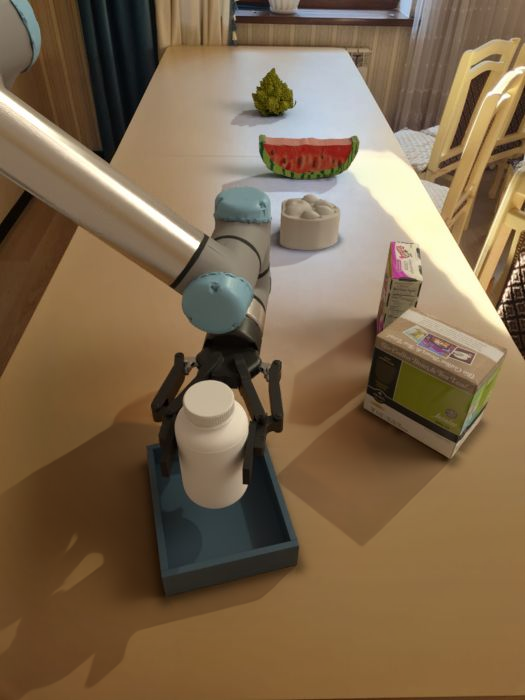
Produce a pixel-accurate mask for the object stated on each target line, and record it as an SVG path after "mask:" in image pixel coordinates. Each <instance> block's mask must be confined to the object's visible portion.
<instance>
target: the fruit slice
mask: <svg viewBox="0 0 525 700" xmlns="http://www.w3.org/2000/svg"><path fill="white" fill-rule="evenodd" d="M359 149H360V139H359V137H358V135H352V136H350V137H346V138H345V137H344V138H315V137H301V138H290V137H269V136H266V135H265V134H261V133H260V134H259V135H258V153H259V155H260V158H261V161H262V162H263V163H264V165H265V167H266V168H267V169H268V170H270V171H271V172H273V173H274V174H276V175H282V176H285V177H287V178H290V179H295V180H314V179H320V178H329V177H333V176H337V175H341V174H342V173H345V171H347V170H349V168H350V167H351V165H352V163H353V162H354V160H355V158H356V157H357V155H358V153H359Z"/></svg>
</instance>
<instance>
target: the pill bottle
mask: <svg viewBox="0 0 525 700" xmlns="http://www.w3.org/2000/svg"><path fill="white" fill-rule="evenodd" d="M248 426H249V418H248V414H247V413H246V411H245V409H244V407H243V406H242V405H241V404H240V403H239V402H238V401H237V400H236V399H235V394H234V392H233V389H231V388H229V387H228V386H227V385H226V384H224V383H222V382H219V381H214V380H207V381H201V382H198V383H196V384H194V385H192V386H191V387H190V388H189V389H188V390H187V391H186V393H185V395H184V397H183V407H182V408H181V409H180V411H179V413H178V415H177V417H176V421H175V435H176V441H177V448H178V455H179V461H180V468H181V474H182V481H183V486H184V489H185V491H186V493H187V495H188V497H189V498H190V499H191V500H192V501H193V502H194V503H196V504H198V505H200V506H202V507H205V508H210V509H219V508H224V507H227V506H230V505H232V504H233V503H235V502H236V501H238V500H239V499H240V498H241V497H242V495H243V494H244V492H245V491H246V488H247V486H248V485H244V484H243V478H242V467H243V461H244V455H245V448H246V442H247V436H248Z"/></svg>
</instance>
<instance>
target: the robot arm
mask: <svg viewBox="0 0 525 700" xmlns="http://www.w3.org/2000/svg"><path fill="white" fill-rule="evenodd" d="M41 47H42V35H41V28H40V25H39V22H38V21H37V18H36V15H35V13H34V9H33V7H32V6H31V4H30V2H29V1H28V0H0V174H1V175H2V176H4V177H5V178H7V179H8V180H9V181H11V182H13V183H14V184H15V185H17V186H18V187H20V188H22V190H25V191H26V192H27V193H29V194H31V195H32V196H33V197H35V198H37V199H38V200H40V201H41V202H42V203H43V204H46V205H47V206H48V207H50V208H52V209H53V210H55V211H56V212H57V213H59V214H60V215H61V216H63V217H65V218H66V219H68V220H70V221H71V222H73V224H75V225H77V226H78V227H80V228H81V229H83V230H84V231H85V232H87V233H89V234H90V235H92V236H93V237H95V238H96V239H98V240H99V241H100V242H102V243H104V244H105V245H106V246H108V247H109V248H111V249H113V250H114V251H116V252H117V253H119V254H120V255H121V256H123V257H124V258H126V259H128V260H129V261H131V262H132V263H134V264H135V265H136V266H138V267H139V268H141V269H142V270H143V271H145V272H147V273H149V274H150V275H151V276H153V277H154V278H156V279H158V280H159V281H160V282H162V283H164V284H165V285H166V286H168V287H169V288H171V289H172V290H173V291H175V292H176V293H178V294H179V295H181V310H182V313H183V314H184V316H185V317H186V318H187V320H188V321H189V324H190V325H191V326H192V327H194V328H196V329H197V330H200V331H201V332H205V333H206V334H205V337H204V341H203V345H202V348H201V350H200V351H199V352H198V353H197V354H196V356H185V354H184V353H183V352H180V351H178V352H175V354H174V359H173V365H172V367H171V369H170V371H169V372H168V374H167V375H166V377H165V379H164V381H163V382H162V384H161V386H160V387H159V390H158V391H157V393H156V394H155V396H154V398H153V399H152V401H151V403H150V410H151V417H152V421H153V422H154V423H157V424H159V423H161V425H160V428H159V432H158V434H157V436H158V437H157V438H158V443H160V447H163V450H162V454H161V457H160V460H159V463H160V468H161V474H162V477H167V478H169V476H170V472H171V469H172V465H173V462H174V458H175V454H176V451H177V441H176V435H175V421H176V417H177V415H178V413H179V411H180V409H181V408H182V407H183V397H184V395H185V393H186V391H187V390H188V389H189V388H190V387H191V386H192V385H194V384H196V383H198V382H201V381H207V380H214V381H219V382H222V383H224V384H226V385H227V386H228V387H229V388H230V389H231V390H238V393H239V394H240V397H242V400H243V402H244V405H245V407H246V410H247V412H248V416H249V417H250V419H251V420H249V421H248V426H249V429H248V436H247V442H246V448H245V455H244V461H243V467H242V478H243V484H244V485H250V479H251V472H252V465H253V458H254V456H263V454H264V451H265V443H266V444H267V435H268V434H269V433H271V432H274V433H276V434H281V433H282V432H283V431H284V418H285V414H284V407H283V400H282V391H281V383H280V381H281V379H282V366H283V362H282V361H281V360H280V359H274V360H273V361H272V362H271V363H269V362H265V361H263V360H262V358H261V350H262V343H263V337H264V331H265V323H266V317H267V316H266V315H267V308H268V303H269V298H270V295H271V290H272V271H271V265H270V263H271V262H270V259H271V258H270V257H271V255H270V254H271V230H272V221H273V217H272V207H271V205H272V203H271V199H270V197H269V195H268V194H267V193H265V192H264V191H263V190H260V189H258V188H256V187H252V186H233V187H229V188H226V189H225V190H222V191H220V192H219V193H218V194H217V195H216V197H215V199H214V211H213V214H212V215H213V216H212V217H213V218H214V229H213V231H212V233H211V235H208V234H206V233H205V232H204V231H202V230H201V229H199V228H198V227H197V226H195V225H194V224H192V223H191V222H190V221H188V220H187V219H186V218H184V217H183V216H182V215H181V214H178V213H177V212H176V211H175V210H173V209H172V208H171V207H169V206H168V205H167V204H165V203H164V202H162V201H161V200H160V199H158V198H157V197H155V196H154V195H153V194H151V192H148V191H147V190H146V189H145V188H143V187H142V186H140V185H139V184H138V183H136V182H135V181H133V179H131V178H129V177H128V176H127V175H125V174H124V173H123V172H121V171H120V170H119V169H117V168H115V167H114V166H113V165H112V164H110V163H109V162H107V161H106V160H105V159H103V158H102V157H101V156H99V155H98V154H96V153H95V152H94V151H92V150H91V149H90V148H88V147H87V146H86V145H84V144H83V143H81V142H80V141H79V140H78V139H76V138H75V137H73V136H71V135H70V134H69V133H68V132H66V131H65V130H63V129H62V128H61V127H59V126H58V125H57V124H55V123H54V122H52V121H51V120H49V119H48V118H47V117H46V116H44V115H43V114H41V113H40V112H38V111H37V110H36V109H34V108H33V107H32V106H31V105H29V104H28V103H27V102H25V101H23V100H22V99H21V98H20V97H18V96H16V95H15V94H14V93H13V92H11V90H12V88H13V85H14V84H15V81H16V79H17V78H18V76H19V75H21V74H23V73H26V72H28V71H29V70H31V68H32V67H33V65H34V64H35V63H36V61H37V59H38V58H39V55H40V52H41ZM194 368H196V369H197V372H196V375H195V376H194V377H193V379H191V381H190V382H189V383H187V385H185V387H184V388H183V389H182V390H181V388H182V386H183V385H184V382H185V380H186V376H187V377H188V376H190V373H191V372H192V370H193V369H194ZM259 374H263V378H264V380H265V381H266V382H267V385H268V386H267V387H268V388H267V389H268V390H267V391H268V399H269V400H268V401H269V407H270V408H269V409H270V415H268V412H266V411H265V409H264V406H263V404H262V402H261V400H260V397H259V394H258V392H257V390H256V388H255V385H254V383H253V379H254V378H255V377H257V376H258V375H259ZM180 390H181V392H180Z"/></svg>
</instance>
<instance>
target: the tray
mask: <svg viewBox="0 0 525 700" xmlns="http://www.w3.org/2000/svg"><path fill="white" fill-rule="evenodd" d="M248 429H249V425H248ZM145 449H146V456H147V457H146V458H147V466H148V473H149V475H148V476H149V482H150V491H151V499H152V509H153V517H154V526H155V533H156V534H155V536H156V541H157V542H156V543H157V551H158V559H159V568H160V577H161V582H162V586H163V590H164V594H165V597H168V596H173V595H177V594H182V593H186V592H190V591H194V590H197V589H201V588H207V587H210V586H214V585H218V584H223V583H227V582H230V581H235V580H239V579H243V578H248V577H252V576H256V575H260V574H264V573H268V572H272V571H276V570H281V569H285V568H289V567H293V566H297V565H298V562H299V561H298V560H299V552H300V543H299V540H298V537H297V534H296V530H295V527H294V525H293V521H292V518H291V515H290V512H289V509H288V506H287V504H286V500H285V497H284V494H283V491H282V489H281V484H280V482H279V479H278V476H277V472H276V470H275V466H274V464H273V460H272V458H271V455H270V452H269V448H268V445H267V442H266V443H265V451H264V454H263V456H254V458H253V465H252V472H251V479H250V485H248V486H247V488H246V491H245V492H244V494H243V495H242V497H241V498H240V499H239V500H238V501H236V502H235V503H233V504H232V505H230V506H227V507H224V508H219V509H210V508H205V507H202V506H200V505H198V504H196V503H194V502H193V501H192V500H191V499H190V498H189V497H188V495H187V493H186V491H185V489H184V486H183V481H182V474H181V468H180V461H179V455H178V448H177V451H176V454H175V458H174V462H173V465H172V469H171V472H170V476H169V478H167V477H162V474H161V468H160V463H159V460H160V457H161V454H162V450H163V447H160V443H159V442H157V443H151V444H147V445H145Z"/></svg>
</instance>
